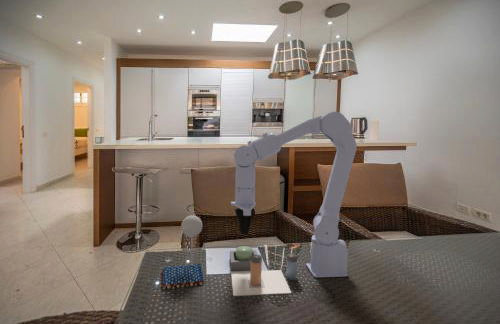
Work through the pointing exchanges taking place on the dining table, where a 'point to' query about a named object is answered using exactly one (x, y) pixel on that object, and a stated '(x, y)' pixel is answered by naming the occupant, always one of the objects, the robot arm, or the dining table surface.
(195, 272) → the woven mat
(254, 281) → the marker terracotta
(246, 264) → the button housing
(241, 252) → the button
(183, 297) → the dining table surface
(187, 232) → the lollipop
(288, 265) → the marker slate
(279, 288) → the paper
